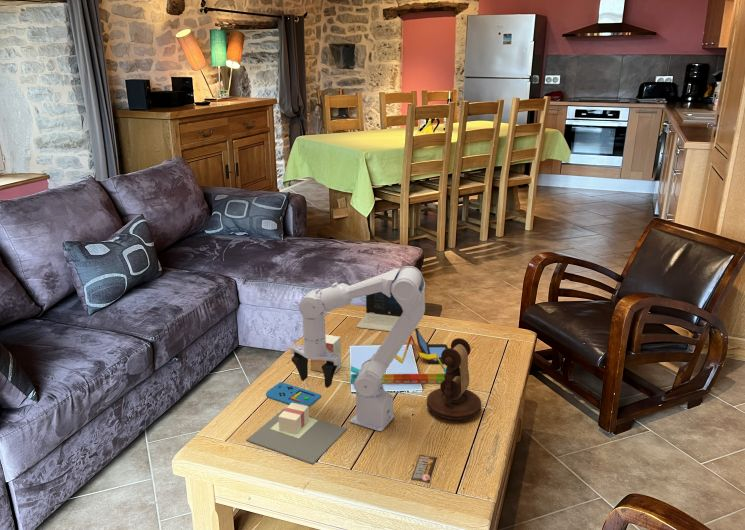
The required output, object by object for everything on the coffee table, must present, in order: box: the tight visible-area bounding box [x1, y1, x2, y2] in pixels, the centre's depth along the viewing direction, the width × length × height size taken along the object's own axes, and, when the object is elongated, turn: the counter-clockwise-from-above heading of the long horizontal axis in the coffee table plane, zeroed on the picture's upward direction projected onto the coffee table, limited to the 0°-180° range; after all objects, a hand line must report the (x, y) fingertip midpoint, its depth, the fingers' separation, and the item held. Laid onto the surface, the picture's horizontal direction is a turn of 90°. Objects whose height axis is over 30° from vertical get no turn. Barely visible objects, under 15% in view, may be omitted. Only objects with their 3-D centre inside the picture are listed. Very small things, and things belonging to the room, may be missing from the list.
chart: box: [350, 334, 447, 385], centre depth 179 cm, size 30×3×15 cm, turn 90°
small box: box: [310, 333, 342, 375], centre depth 187 cm, size 8×6×10 cm
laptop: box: [355, 292, 403, 332], centre depth 218 cm, size 18×12×13 cm
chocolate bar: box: [410, 454, 438, 484], centre depth 143 cm, size 11×5×1 cm, turn 164°
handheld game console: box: [414, 327, 449, 365], centre depth 196 cm, size 12×11×7 cm
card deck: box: [279, 403, 310, 434], centre depth 159 cm, size 7×5×4 cm
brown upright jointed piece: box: [426, 337, 482, 424], centre depth 164 cm, size 15×15×20 cm
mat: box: [245, 408, 348, 465], centre depth 156 cm, size 20×16×1 cm
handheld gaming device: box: [265, 381, 322, 408], centre depth 174 cm, size 8×1×15 cm
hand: (316, 382), depth 162 cm, fingers open, 7 cm apart
